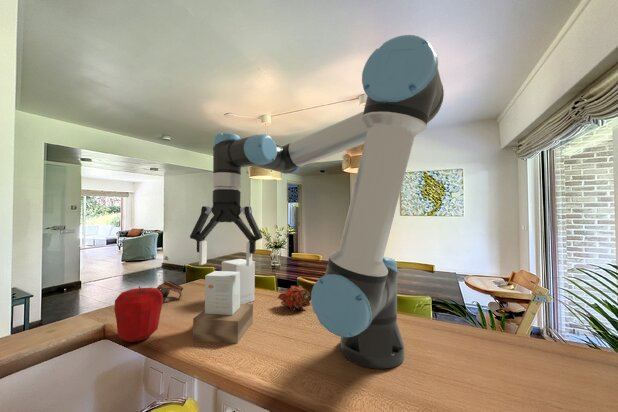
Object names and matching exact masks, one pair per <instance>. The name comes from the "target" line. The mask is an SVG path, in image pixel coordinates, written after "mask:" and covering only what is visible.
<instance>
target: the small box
mask: <svg viewBox="0 0 618 412" xmlns="http://www.w3.org/2000/svg"><path fill="white" fill-rule="evenodd" d="M204 279H205V280H204V281H205V282H204V310H205V314H221V315H233V314H234V313H235V312H236V311H237V310H238V309H239V308H240V272H233V271H222V270H215V271H212V272H209V273H207V274H206V275H205V276H204Z"/></svg>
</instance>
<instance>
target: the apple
mask: <svg viewBox="0 0 618 412" xmlns="http://www.w3.org/2000/svg"><path fill="white" fill-rule="evenodd" d="M163 303H164V302H163V296H162V293H161V292H160V291H159V290H158V289H157V287H141V286H140V285H138V287H137V288H131V289H128V290H126V291H123V292H121V293H120V294H119V295H118V296H117V297H116V298H115V300H114V314H115V320H116V327H117V328H116V330H117V337H119V339H121V340H123V341H124V342H128V343H133V342H134V343H135V342H139V341H143V340H146V339H148V338H149V337H150V336H151V335H153V334H154V333H155V332H156V331H157V330H158V328H159V323H160V318H161V312H162V307H163Z"/></svg>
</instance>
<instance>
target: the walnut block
mask: <svg viewBox="0 0 618 412" xmlns="http://www.w3.org/2000/svg"><path fill="white" fill-rule="evenodd" d="M192 319H193V321H192V322H193V323H192V341H196V342H211V343H221V344H222V343H225V344H238V343H239V342H240V341H241V340H242V339H243V337H244V335H246V333H247V331H248V330H249V328H251V326H252V325H253V323H254V321H253V320H254V304H252V303H250V304H249V303H246V304H240V308H239V309H238V310H237V311H236V312H235V313H234V314H233V315H221V314H205V309H204V310H202V311H201V312H200V313H199V314H197V315H196V316H195V317H193V318H192Z"/></svg>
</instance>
